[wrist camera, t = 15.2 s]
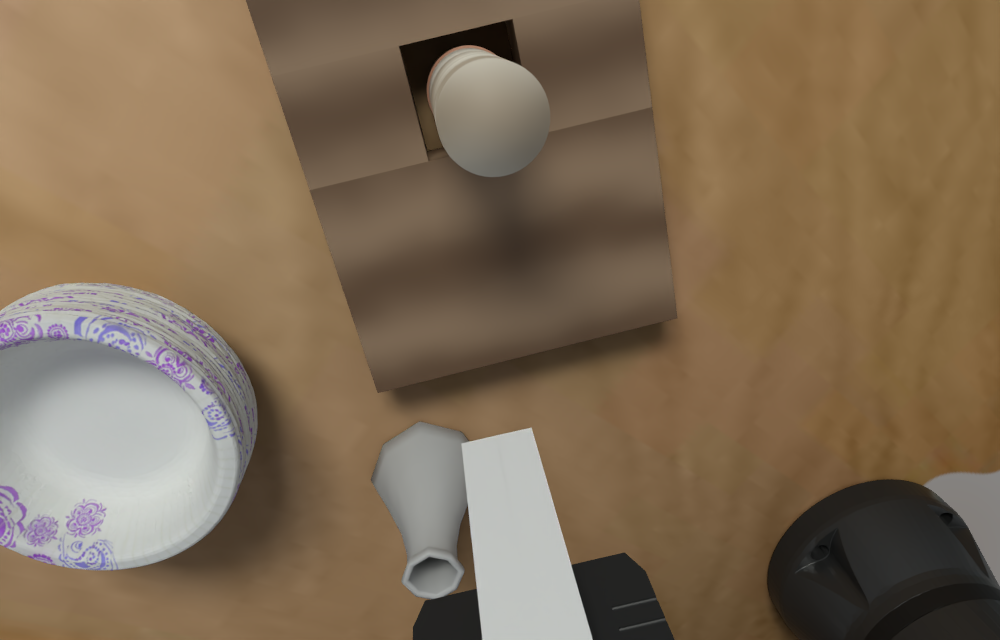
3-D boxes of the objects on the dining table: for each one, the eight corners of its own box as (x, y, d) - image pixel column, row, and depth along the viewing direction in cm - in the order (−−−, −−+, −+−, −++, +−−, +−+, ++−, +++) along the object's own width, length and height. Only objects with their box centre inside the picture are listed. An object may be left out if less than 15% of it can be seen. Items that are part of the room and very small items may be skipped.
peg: (511, 116, 38) (562, 164, 25) (436, 134, 38) (450, 192, 25) (494, 35, 36) (540, 43, 23) (416, 53, 36) (420, 72, 23)
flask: (503, 455, 47) (526, 561, 38) (439, 528, 48) (446, 645, 39) (416, 402, 44) (418, 501, 35) (351, 480, 46) (337, 594, 37)
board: (660, 299, 43) (677, 318, 41) (380, 369, 43) (377, 392, 40) (602, -148, 34) (619, -163, 31) (237, -62, 33) (222, -70, 30)
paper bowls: (1, 472, 43) (-82, 564, 36) (-9, 238, 37) (-110, 291, 30) (257, 499, 46) (228, 589, 38) (282, 286, 40) (254, 345, 33)
